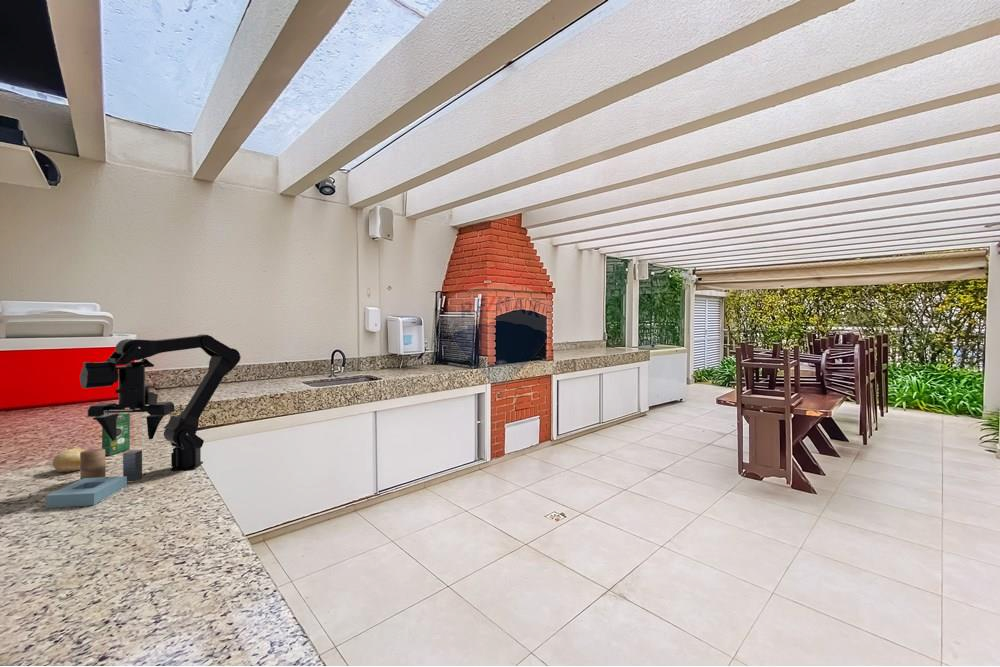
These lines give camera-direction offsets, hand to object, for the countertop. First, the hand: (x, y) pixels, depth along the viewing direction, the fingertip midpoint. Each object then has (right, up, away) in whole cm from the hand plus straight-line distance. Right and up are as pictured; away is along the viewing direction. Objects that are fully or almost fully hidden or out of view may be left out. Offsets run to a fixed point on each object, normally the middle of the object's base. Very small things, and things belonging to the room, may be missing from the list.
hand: (132, 439), depth 124 cm
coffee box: (-27, -11, +26) cm, 39 cm away
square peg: (0, -11, 0) cm, 11 cm away
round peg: (-11, -11, 0) cm, 16 cm away
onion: (-25, -11, +8) cm, 28 cm away
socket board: (-1, -12, -12) cm, 17 cm away
